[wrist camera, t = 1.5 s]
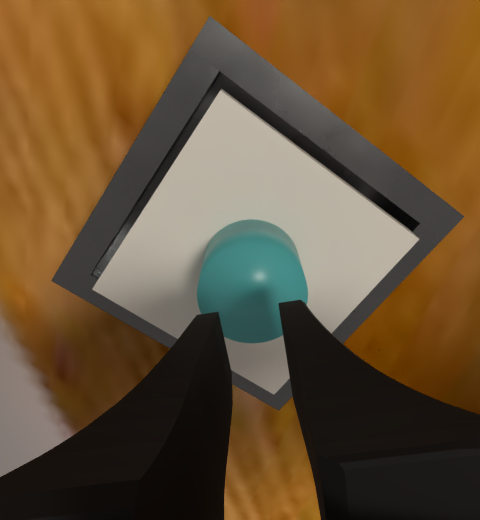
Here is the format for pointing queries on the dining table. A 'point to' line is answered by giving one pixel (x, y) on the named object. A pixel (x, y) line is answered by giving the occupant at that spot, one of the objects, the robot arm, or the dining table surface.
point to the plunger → (251, 241)
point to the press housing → (287, 123)
